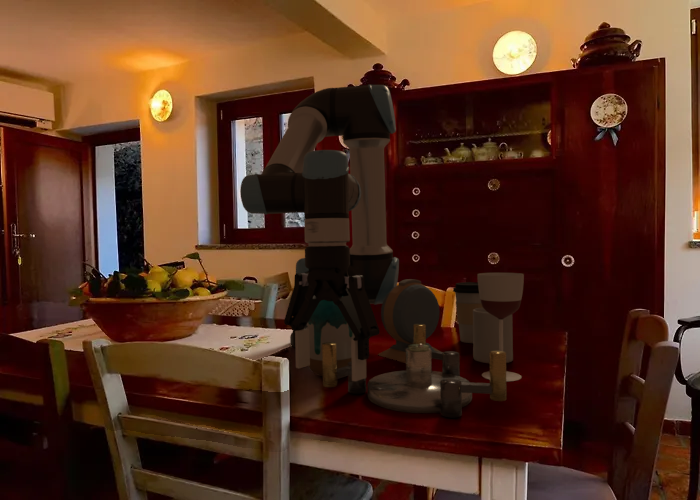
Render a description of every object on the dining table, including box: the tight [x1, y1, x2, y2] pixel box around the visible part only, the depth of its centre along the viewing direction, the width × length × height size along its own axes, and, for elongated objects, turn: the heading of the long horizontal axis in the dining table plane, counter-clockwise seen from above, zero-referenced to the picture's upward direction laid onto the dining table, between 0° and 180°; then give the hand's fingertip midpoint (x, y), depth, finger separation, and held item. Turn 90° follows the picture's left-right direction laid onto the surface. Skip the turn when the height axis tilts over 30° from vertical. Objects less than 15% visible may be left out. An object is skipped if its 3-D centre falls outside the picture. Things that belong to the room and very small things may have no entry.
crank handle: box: [413, 324, 461, 377], centre depth 99 cm, size 10×3×10 cm, turn 49°
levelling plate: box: [366, 344, 473, 414], centre depth 89 cm, size 18×18×9 cm
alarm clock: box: [377, 278, 442, 364], centre depth 119 cm, size 14×10×18 cm
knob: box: [322, 342, 367, 395], centre depth 89 cm, size 10×3×10 cm, turn 139°
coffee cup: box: [452, 281, 483, 344], centre depth 133 cm, size 9×9×15 cm
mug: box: [472, 308, 514, 364], centre depth 115 cm, size 12×8×11 cm
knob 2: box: [440, 351, 507, 419], centre depth 78 cm, size 10×3×10 cm, turn 79°
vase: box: [304, 296, 355, 377], centre depth 103 cm, size 11×11×19 cm
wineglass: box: [477, 272, 525, 382], centre depth 100 cm, size 8×9×20 cm
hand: (329, 372), depth 86 cm, fingers open, 12 cm apart
